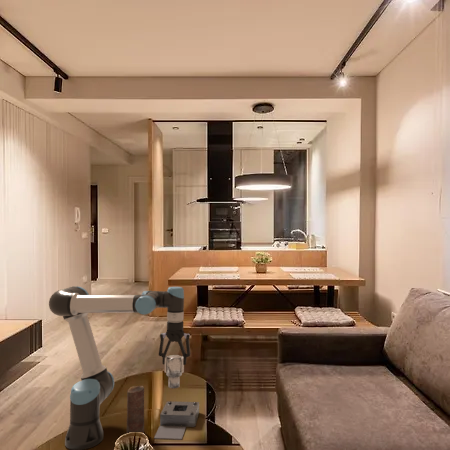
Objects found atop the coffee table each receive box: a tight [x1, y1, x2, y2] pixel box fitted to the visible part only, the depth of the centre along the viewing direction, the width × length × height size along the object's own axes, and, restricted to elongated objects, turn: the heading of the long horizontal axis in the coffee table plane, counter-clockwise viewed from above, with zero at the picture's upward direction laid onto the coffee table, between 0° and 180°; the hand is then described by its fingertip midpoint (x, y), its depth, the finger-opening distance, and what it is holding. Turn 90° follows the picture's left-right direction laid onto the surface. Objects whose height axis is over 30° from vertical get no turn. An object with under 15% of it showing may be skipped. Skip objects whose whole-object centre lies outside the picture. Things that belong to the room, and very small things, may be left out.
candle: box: [126, 385, 145, 434], centre depth 158 cm, size 8×7×20 cm
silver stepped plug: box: [166, 354, 183, 389], centre depth 166 cm, size 7×7×13 cm
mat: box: [153, 425, 187, 441], centre depth 159 cm, size 12×10×1 cm
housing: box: [159, 400, 200, 428], centre depth 172 cm, size 16×14×6 cm
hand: (174, 371), depth 166 cm, fingers closed on silver stepped plug, 7 cm apart
